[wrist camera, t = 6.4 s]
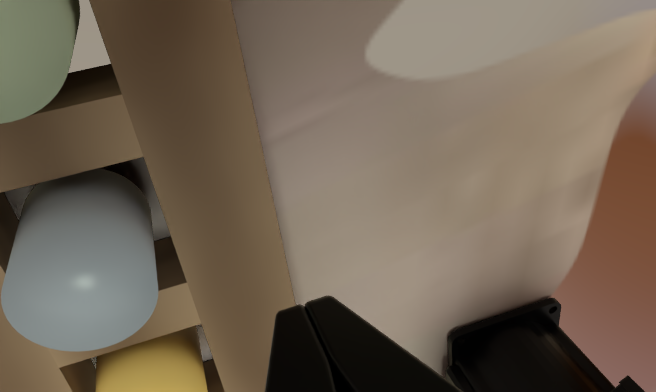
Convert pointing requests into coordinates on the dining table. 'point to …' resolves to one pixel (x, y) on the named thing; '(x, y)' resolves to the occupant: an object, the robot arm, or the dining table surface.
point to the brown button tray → (163, 187)
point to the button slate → (82, 263)
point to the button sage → (34, 53)
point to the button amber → (154, 365)
